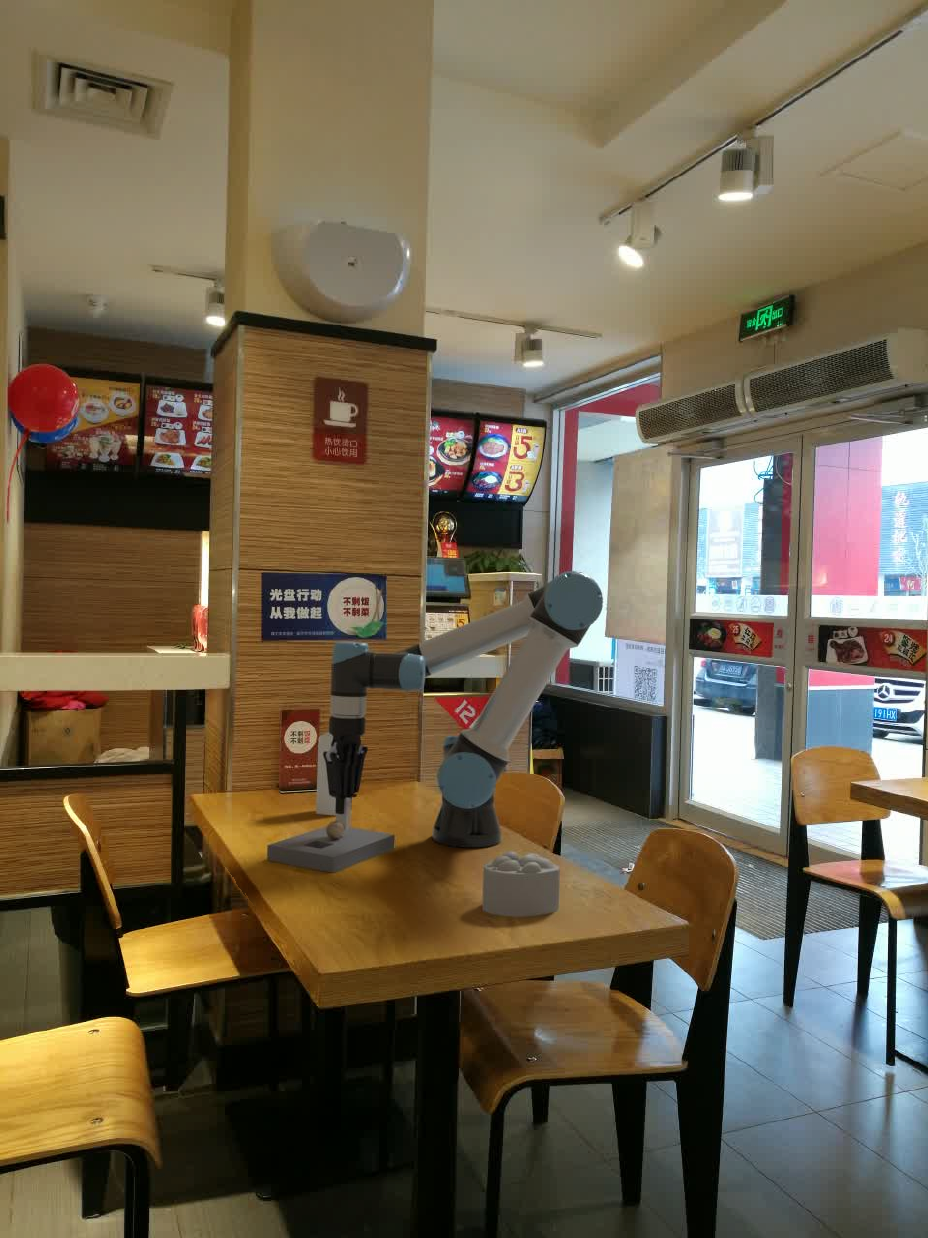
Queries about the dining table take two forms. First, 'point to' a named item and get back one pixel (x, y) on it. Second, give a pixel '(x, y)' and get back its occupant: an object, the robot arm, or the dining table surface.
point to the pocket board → (330, 849)
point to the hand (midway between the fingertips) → (342, 828)
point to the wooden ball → (334, 830)
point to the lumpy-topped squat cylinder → (520, 885)
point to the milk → (324, 779)
